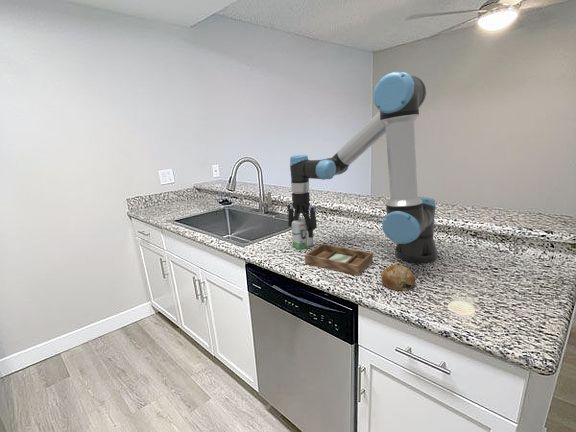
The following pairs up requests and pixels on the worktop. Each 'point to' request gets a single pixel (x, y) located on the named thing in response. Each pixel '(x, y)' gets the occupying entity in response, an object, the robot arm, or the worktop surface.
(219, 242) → the worktop surface
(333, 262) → the tray
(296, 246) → the ink box
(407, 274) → the bread roll
